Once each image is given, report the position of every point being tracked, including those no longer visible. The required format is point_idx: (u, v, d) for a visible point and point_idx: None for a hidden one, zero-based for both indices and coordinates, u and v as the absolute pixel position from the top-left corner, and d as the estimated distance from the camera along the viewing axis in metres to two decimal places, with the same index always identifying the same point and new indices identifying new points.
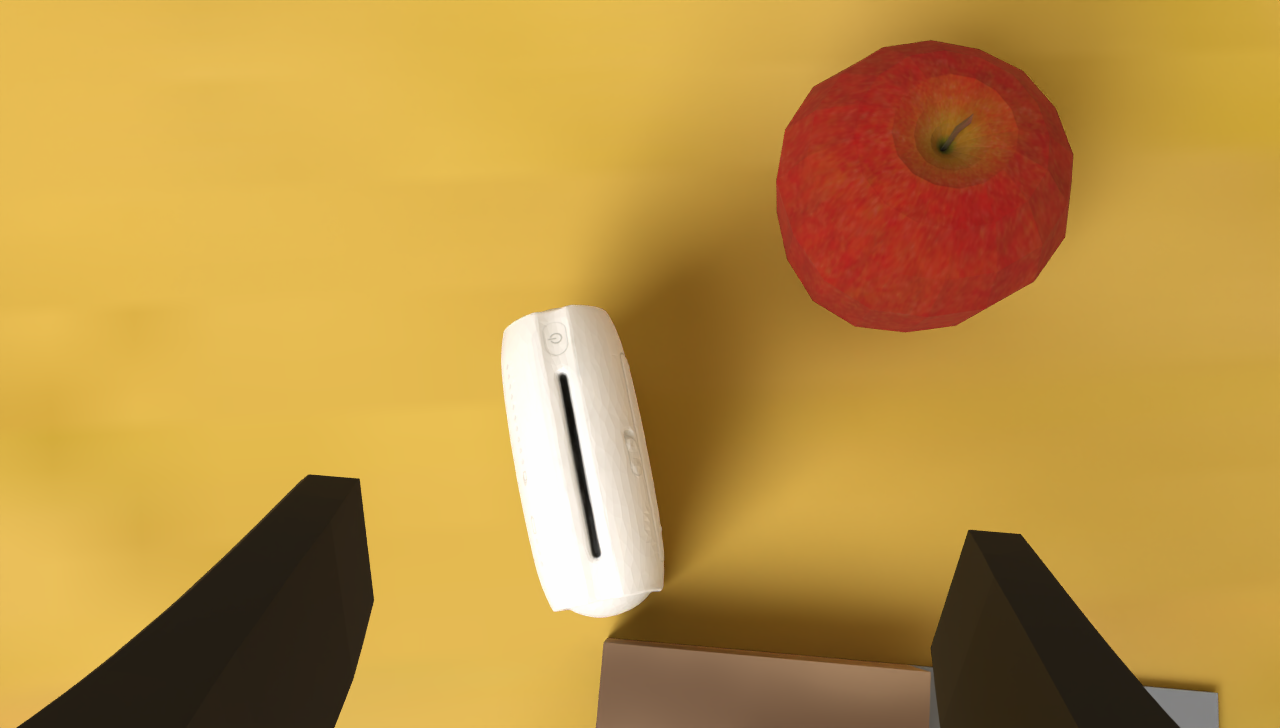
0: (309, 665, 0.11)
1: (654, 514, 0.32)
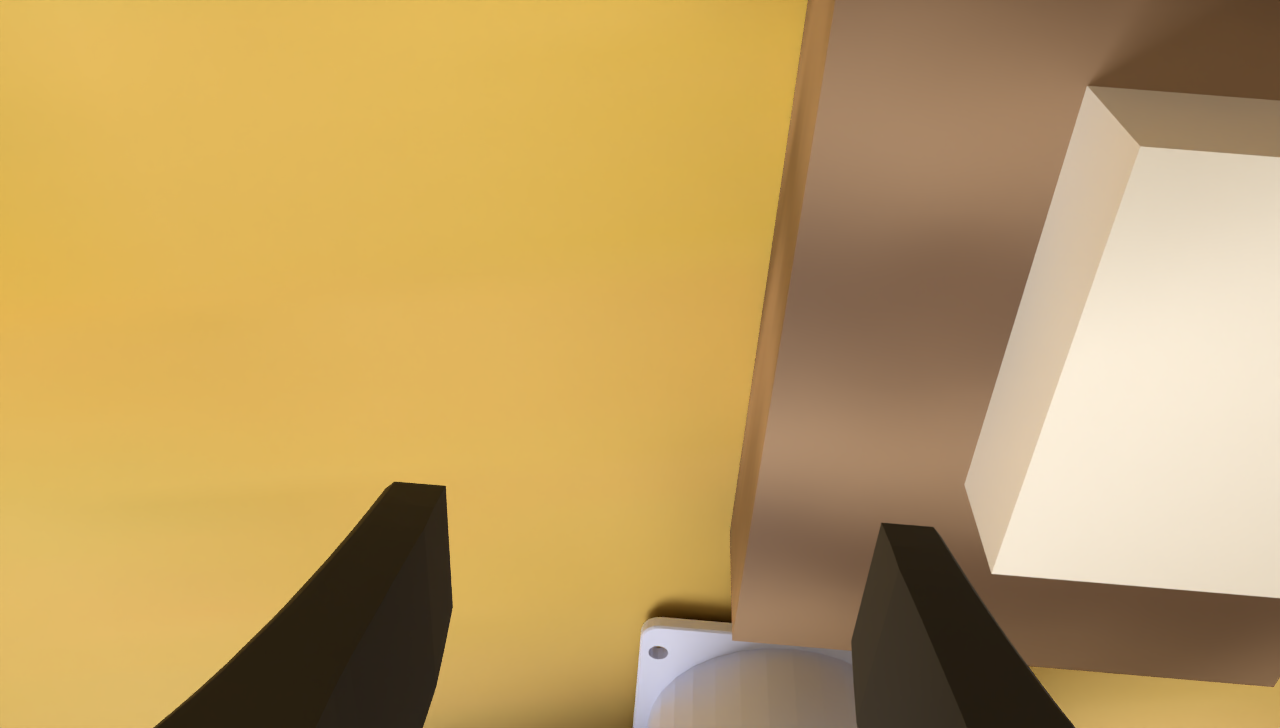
0: (403, 673, 0.11)
1: None
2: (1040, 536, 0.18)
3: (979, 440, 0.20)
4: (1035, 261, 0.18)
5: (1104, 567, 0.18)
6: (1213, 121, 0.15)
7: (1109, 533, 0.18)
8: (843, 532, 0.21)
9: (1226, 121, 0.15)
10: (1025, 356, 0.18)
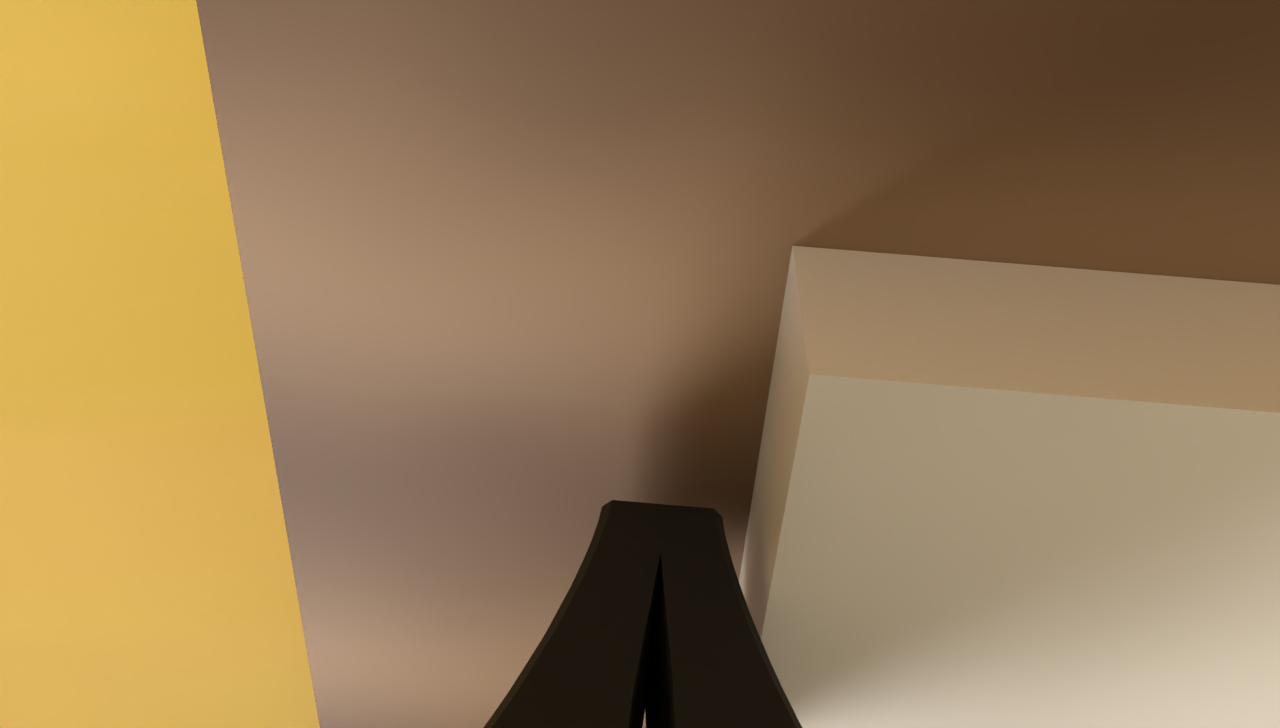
0: (641, 694, 0.11)
1: None
2: None
3: None
4: (757, 467, 0.13)
5: None
6: (950, 316, 0.10)
7: None
8: None
9: (970, 315, 0.10)
10: (746, 598, 0.13)
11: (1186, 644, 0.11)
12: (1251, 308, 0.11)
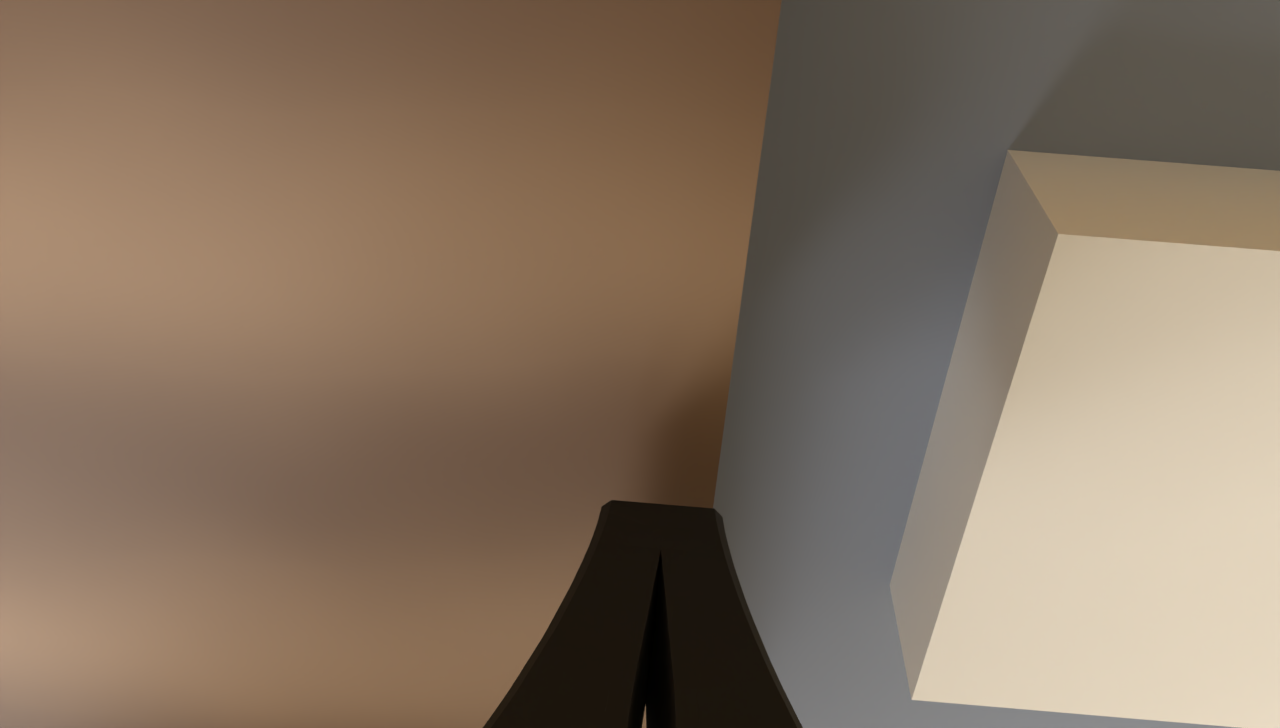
0: (641, 694, 0.11)
1: None
2: None
3: None
4: None
5: None
6: None
7: None
8: (38, 723, 0.17)
9: None
10: None
11: None
12: (1166, 221, 0.12)
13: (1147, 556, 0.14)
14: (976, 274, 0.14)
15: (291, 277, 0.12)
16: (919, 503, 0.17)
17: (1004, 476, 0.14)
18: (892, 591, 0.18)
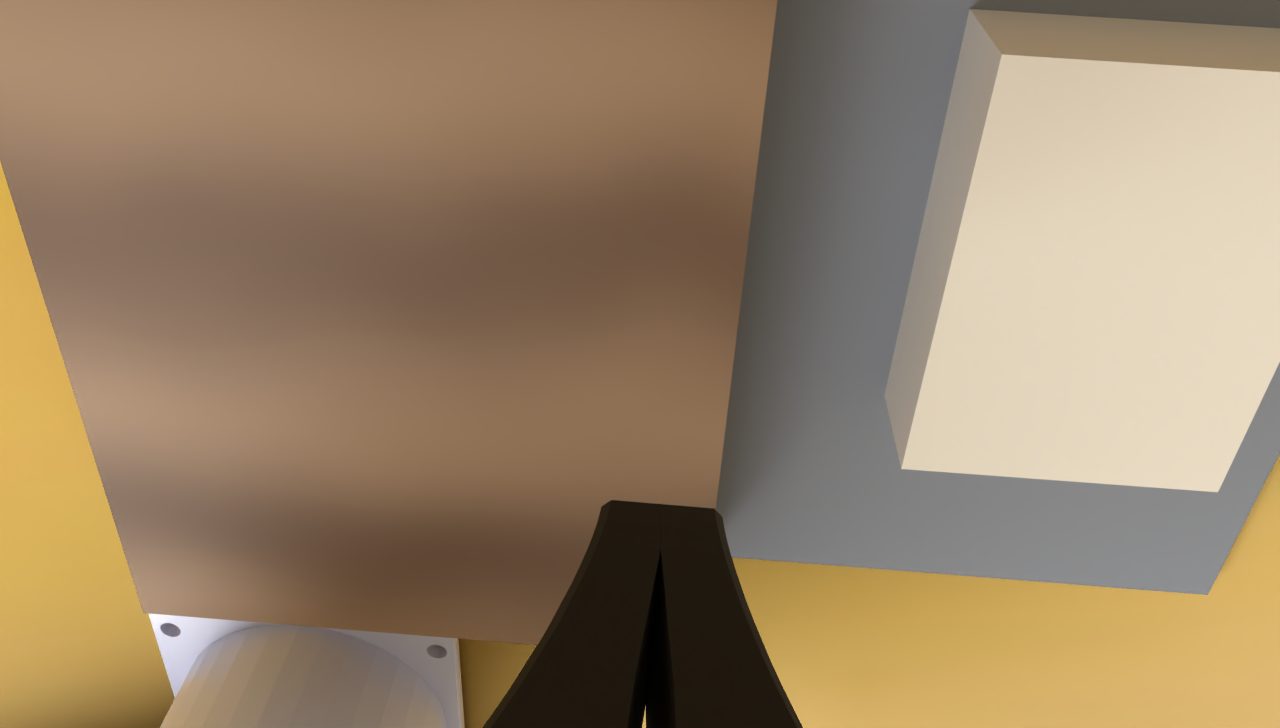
0: (641, 694, 0.11)
1: None
2: None
3: (1238, 443, 0.19)
4: None
5: None
6: (1276, 49, 0.16)
7: None
8: (198, 498, 0.21)
9: (1265, 49, 0.16)
10: None
11: None
12: (1085, 48, 0.16)
13: (1083, 330, 0.18)
14: (947, 113, 0.18)
15: (428, 94, 0.16)
16: (906, 315, 0.20)
17: (968, 262, 0.17)
18: (886, 398, 0.22)
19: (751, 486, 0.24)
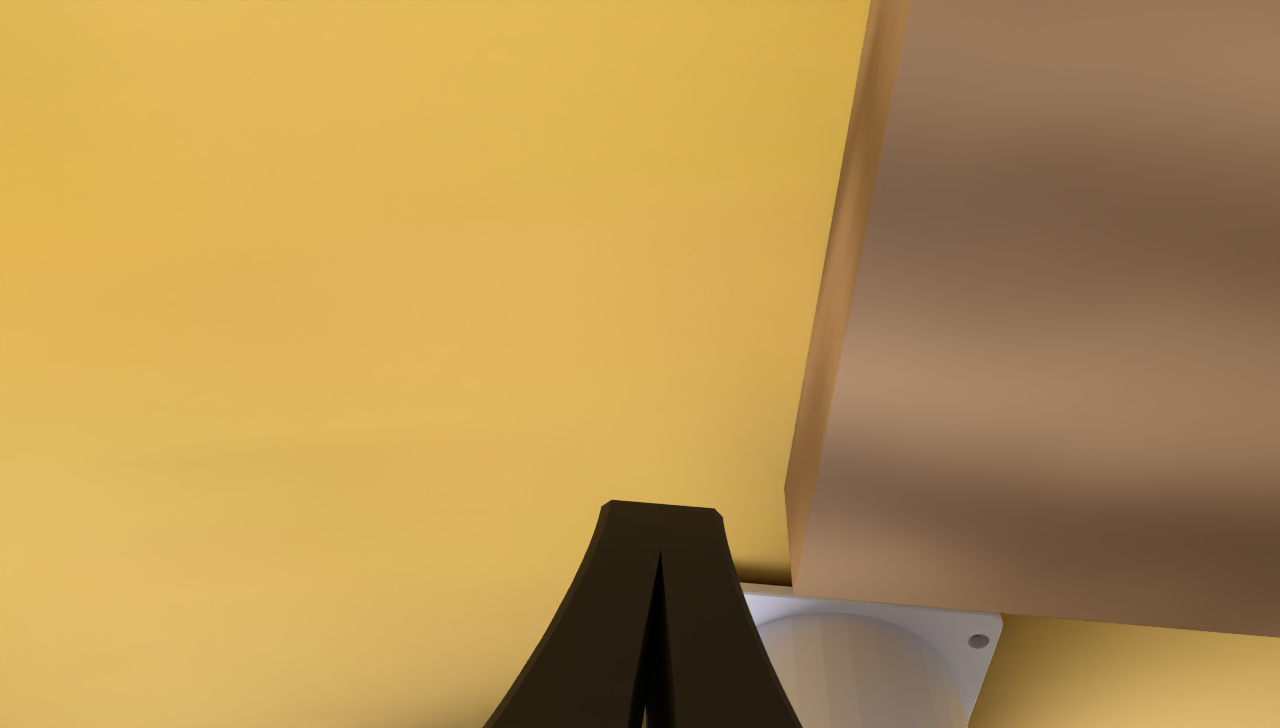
0: (641, 694, 0.11)
1: None
2: None
3: None
4: None
5: None
6: None
7: None
8: (915, 475, 0.20)
9: None
10: None
11: None
12: None
13: None
14: None
15: None
16: None
17: None
18: None
19: None
